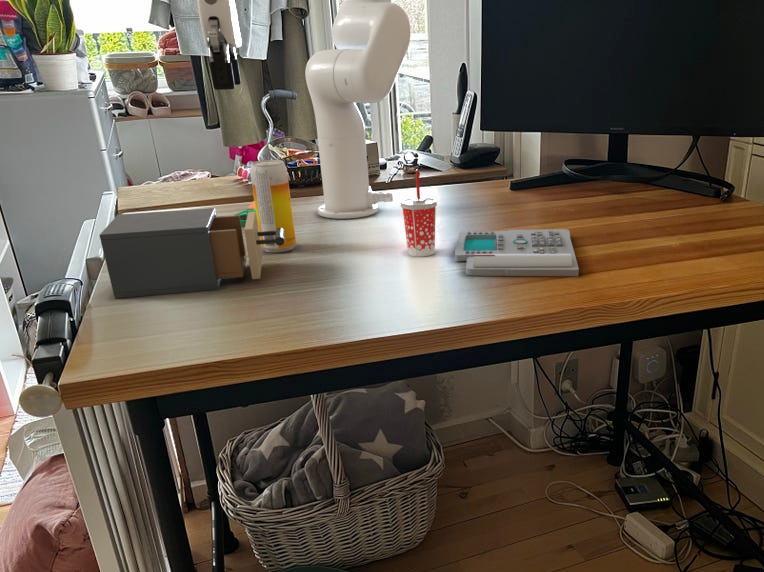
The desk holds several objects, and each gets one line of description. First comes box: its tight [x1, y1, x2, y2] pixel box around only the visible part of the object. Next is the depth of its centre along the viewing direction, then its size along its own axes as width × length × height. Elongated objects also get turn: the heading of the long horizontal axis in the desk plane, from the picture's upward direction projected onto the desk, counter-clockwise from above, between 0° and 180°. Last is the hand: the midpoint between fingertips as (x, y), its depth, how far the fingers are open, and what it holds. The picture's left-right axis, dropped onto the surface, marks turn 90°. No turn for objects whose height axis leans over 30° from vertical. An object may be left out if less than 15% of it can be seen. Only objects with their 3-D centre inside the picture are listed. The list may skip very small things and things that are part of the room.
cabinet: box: [99, 207, 222, 299], centre depth 112 cm, size 15×13×10 cm
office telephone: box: [454, 228, 580, 277], centre depth 123 cm, size 23×3×20 cm
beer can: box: [249, 159, 297, 253], centre depth 126 cm, size 6×6×15 cm
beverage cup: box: [399, 169, 438, 258], centre depth 123 cm, size 6×6×14 cm
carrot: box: [234, 200, 258, 227], centre depth 151 cm, size 15×6×2 cm, turn 7°
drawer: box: [209, 212, 285, 280], centre depth 114 cm, size 18×11×8 cm, turn 104°
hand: (228, 86), depth 120 cm, fingers open, 9 cm apart
